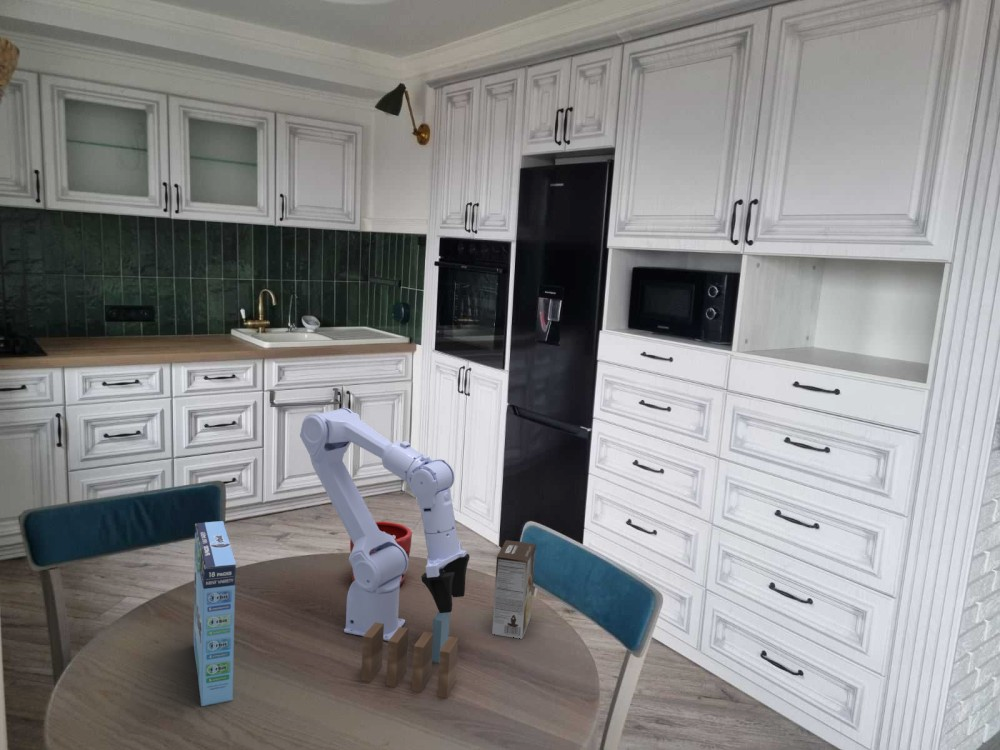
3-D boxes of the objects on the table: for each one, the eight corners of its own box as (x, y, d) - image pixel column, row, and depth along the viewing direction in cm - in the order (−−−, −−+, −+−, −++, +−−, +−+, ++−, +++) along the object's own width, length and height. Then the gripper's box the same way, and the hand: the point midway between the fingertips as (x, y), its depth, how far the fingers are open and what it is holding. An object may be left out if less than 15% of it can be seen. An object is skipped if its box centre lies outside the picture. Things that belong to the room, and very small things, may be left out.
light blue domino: (430, 661, 128) (433, 619, 127) (439, 647, 133) (442, 606, 131) (439, 663, 127) (441, 621, 126) (448, 649, 132) (450, 608, 131)
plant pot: (406, 596, 152) (408, 542, 150) (343, 593, 151) (345, 539, 150) (412, 570, 165) (414, 520, 163) (354, 567, 164) (356, 517, 163)
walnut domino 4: (437, 696, 118) (440, 650, 116) (447, 679, 122) (449, 636, 121) (446, 698, 117) (449, 652, 116) (456, 681, 122) (458, 637, 121)
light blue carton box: (193, 645, 128) (193, 522, 125) (223, 640, 130) (224, 519, 127) (200, 708, 111) (200, 567, 107) (235, 701, 113) (236, 563, 110)
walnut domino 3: (411, 691, 119) (414, 645, 117) (422, 674, 123) (424, 631, 122) (420, 692, 118) (423, 647, 117) (430, 676, 123) (433, 633, 122)
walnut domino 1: (361, 680, 121) (363, 636, 119) (373, 665, 125) (375, 622, 124) (370, 682, 120) (371, 637, 119) (382, 666, 125) (383, 623, 124)
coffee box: (500, 613, 147) (505, 538, 145) (531, 618, 146) (536, 543, 144) (491, 635, 138) (496, 555, 136) (523, 640, 137) (529, 560, 135)
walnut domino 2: (386, 685, 120) (388, 640, 118) (397, 669, 124) (399, 626, 123) (395, 687, 119) (397, 642, 118) (406, 671, 124) (408, 628, 123)
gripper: (448, 538, 120) (461, 617, 120) (472, 516, 134) (484, 588, 134) (409, 542, 122) (422, 620, 122) (437, 520, 136) (448, 591, 136)
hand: (452, 604), depth 128 cm, fingers open, 7 cm apart
